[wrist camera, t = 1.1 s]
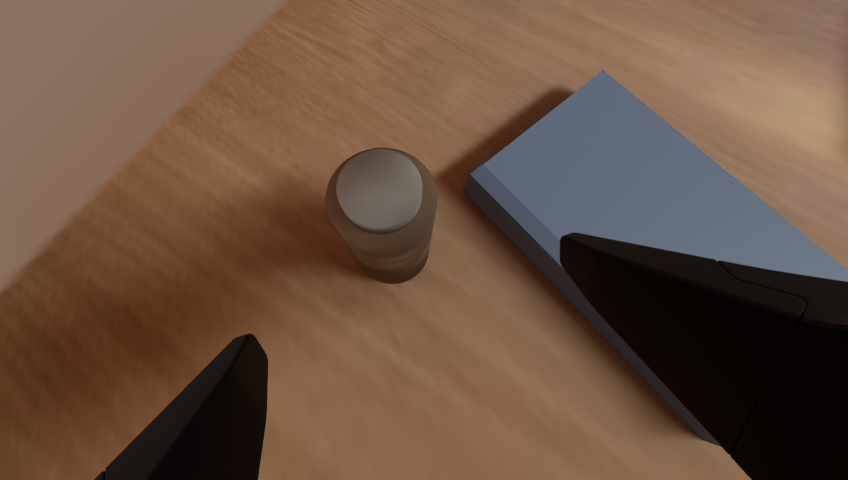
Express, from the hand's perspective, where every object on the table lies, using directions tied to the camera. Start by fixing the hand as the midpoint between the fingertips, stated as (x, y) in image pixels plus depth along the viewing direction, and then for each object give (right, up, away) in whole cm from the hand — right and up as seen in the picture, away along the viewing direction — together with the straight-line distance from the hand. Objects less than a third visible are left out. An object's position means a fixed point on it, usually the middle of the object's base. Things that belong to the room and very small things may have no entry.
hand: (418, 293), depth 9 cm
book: (+16, +1, +15) cm, 22 cm away
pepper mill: (-2, +1, +14) cm, 14 cm away
